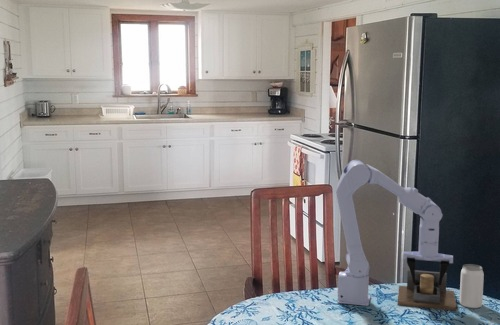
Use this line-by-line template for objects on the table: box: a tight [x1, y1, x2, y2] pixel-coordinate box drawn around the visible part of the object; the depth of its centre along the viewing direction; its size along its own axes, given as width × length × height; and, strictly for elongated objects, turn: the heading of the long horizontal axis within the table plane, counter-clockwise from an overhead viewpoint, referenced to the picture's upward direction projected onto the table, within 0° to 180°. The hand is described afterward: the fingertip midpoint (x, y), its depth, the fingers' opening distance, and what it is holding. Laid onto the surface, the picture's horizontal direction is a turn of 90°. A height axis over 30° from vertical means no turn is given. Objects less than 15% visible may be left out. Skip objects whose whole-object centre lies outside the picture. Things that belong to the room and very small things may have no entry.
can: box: [459, 263, 485, 309], centre depth 169 cm, size 6×6×12 cm
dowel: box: [420, 274, 434, 294], centre depth 172 cm, size 4×4×7 cm
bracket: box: [397, 269, 457, 311], centre depth 174 cm, size 17×13×7 cm
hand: (426, 282), depth 172 cm, fingers open, 7 cm apart
